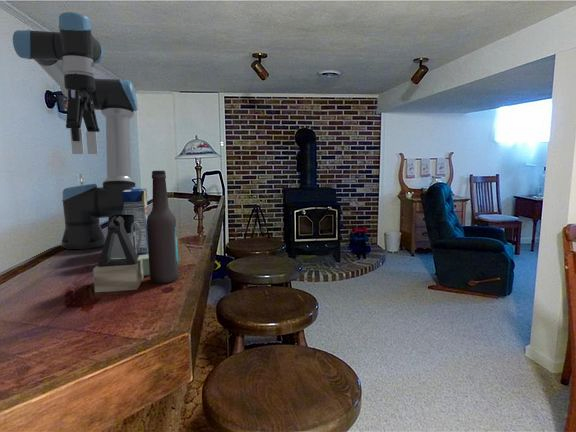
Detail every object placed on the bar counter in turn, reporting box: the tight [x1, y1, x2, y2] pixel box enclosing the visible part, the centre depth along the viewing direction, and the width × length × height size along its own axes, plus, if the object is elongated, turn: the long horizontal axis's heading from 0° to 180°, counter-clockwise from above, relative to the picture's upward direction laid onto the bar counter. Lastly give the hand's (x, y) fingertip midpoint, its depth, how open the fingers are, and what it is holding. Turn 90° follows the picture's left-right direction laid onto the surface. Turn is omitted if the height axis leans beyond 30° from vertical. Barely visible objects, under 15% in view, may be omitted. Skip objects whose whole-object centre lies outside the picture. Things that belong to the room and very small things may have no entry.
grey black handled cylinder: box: [107, 214, 141, 259], centre depth 122 cm, size 9×14×15 cm, turn 55°
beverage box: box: [122, 188, 149, 255], centre depth 138 cm, size 7×11×22 cm, turn 16°
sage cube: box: [138, 253, 150, 277], centre depth 113 cm, size 5×5×5 cm
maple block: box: [92, 256, 144, 293], centre depth 102 cm, size 10×10×6 cm
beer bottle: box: [147, 170, 179, 284], centre depth 104 cm, size 8×8×30 cm
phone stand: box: [97, 216, 139, 267], centre depth 101 cm, size 9×6×12 cm, turn 103°
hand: (86, 154), depth 109 cm, fingers open, 13 cm apart
